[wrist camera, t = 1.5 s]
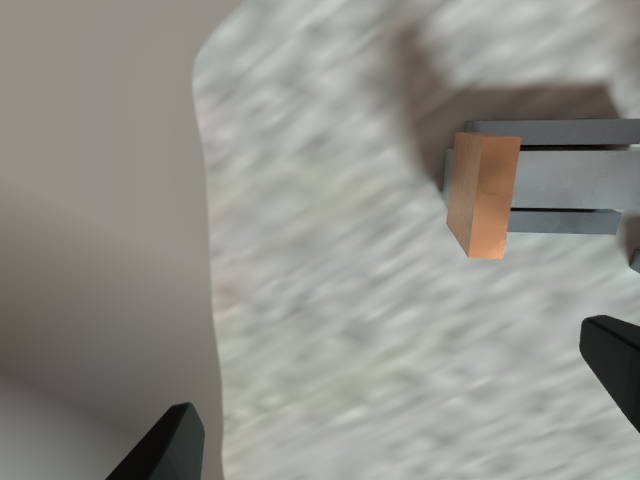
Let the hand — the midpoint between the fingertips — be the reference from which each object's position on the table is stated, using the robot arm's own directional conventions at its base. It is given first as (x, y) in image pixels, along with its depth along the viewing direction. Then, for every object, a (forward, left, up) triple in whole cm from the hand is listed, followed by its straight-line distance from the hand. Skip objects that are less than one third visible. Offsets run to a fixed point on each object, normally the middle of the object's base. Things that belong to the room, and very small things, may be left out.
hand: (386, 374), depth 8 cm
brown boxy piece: (-9, -2, -16) cm, 18 cm away
